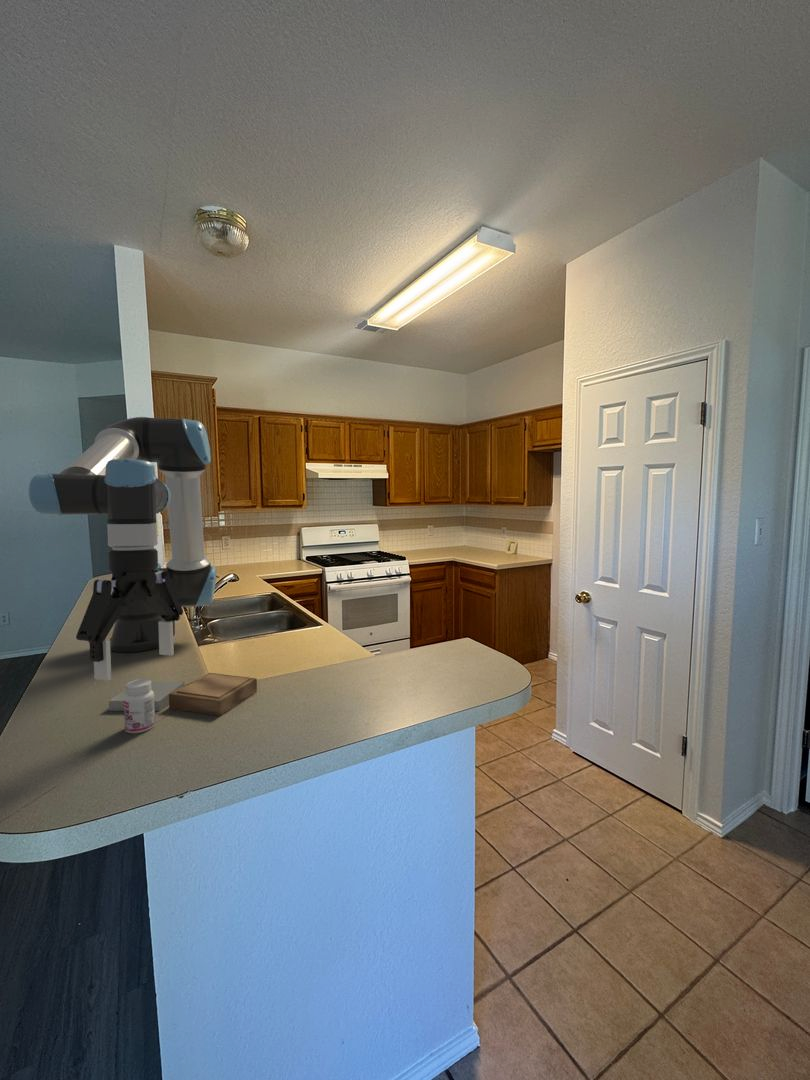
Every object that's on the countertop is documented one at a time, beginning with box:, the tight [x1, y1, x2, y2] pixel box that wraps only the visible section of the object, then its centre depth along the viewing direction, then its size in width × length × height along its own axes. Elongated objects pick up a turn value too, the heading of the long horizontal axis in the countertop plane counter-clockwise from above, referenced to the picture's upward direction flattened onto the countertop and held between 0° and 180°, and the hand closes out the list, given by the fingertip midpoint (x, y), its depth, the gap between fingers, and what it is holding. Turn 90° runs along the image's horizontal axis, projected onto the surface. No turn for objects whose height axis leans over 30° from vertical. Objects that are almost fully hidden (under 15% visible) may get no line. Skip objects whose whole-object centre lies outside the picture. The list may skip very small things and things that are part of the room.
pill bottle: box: [123, 678, 156, 734], centre depth 82 cm, size 5×5×8 cm
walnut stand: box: [168, 672, 258, 717], centre depth 95 cm, size 12×12×3 cm
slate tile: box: [108, 681, 186, 712], centre depth 94 cm, size 10×10×2 cm
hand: (137, 666), depth 82 cm, fingers open, 13 cm apart
